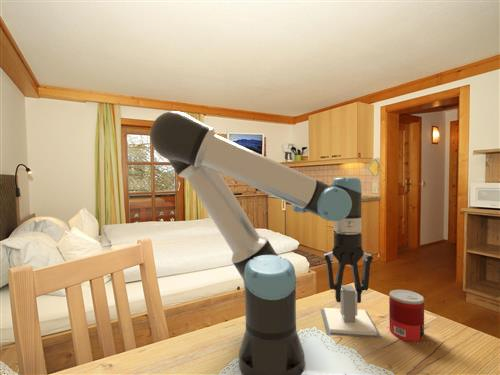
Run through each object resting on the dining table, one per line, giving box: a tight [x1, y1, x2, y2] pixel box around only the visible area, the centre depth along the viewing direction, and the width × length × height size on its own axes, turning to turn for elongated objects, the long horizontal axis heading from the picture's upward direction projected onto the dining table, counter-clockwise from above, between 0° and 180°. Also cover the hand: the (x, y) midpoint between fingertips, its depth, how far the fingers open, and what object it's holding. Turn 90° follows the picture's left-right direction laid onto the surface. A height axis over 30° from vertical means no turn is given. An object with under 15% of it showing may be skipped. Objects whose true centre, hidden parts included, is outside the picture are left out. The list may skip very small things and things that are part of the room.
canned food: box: [388, 289, 425, 343], centre depth 72 cm, size 8×8×11 cm
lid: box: [323, 284, 377, 335], centre depth 78 cm, size 12×12×10 cm
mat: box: [319, 309, 383, 339], centre depth 78 cm, size 14×14×1 cm
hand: (348, 312), depth 78 cm, fingers closed on lid, 3 cm apart
